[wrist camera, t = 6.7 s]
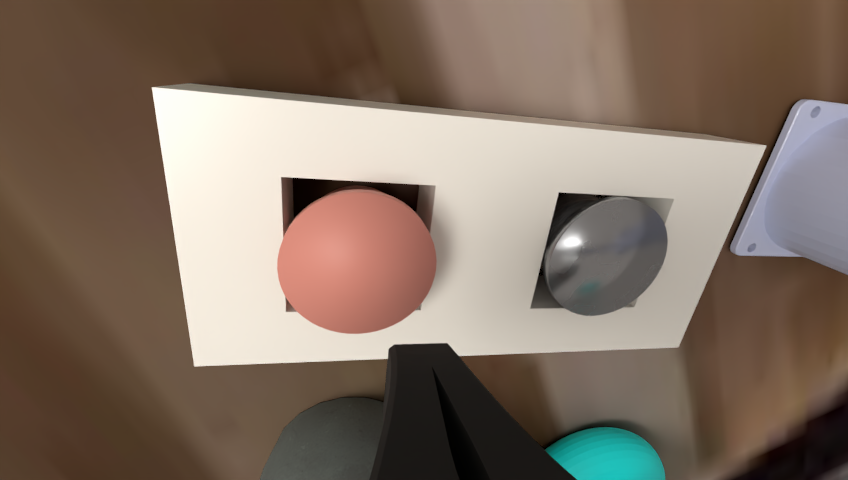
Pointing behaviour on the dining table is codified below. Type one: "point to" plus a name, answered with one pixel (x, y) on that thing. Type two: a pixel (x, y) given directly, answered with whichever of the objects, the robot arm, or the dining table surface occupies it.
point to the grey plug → (602, 252)
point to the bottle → (328, 442)
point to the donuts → (607, 455)
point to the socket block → (430, 218)
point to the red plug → (356, 261)
